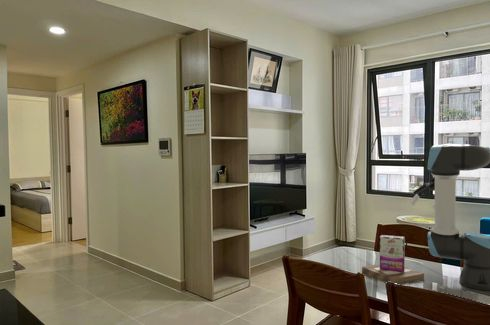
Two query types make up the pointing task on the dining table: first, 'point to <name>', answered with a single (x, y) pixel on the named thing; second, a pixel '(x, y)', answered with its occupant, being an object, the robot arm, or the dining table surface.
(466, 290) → the dining table surface
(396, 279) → the walnut plinth
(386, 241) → the candy bar box
